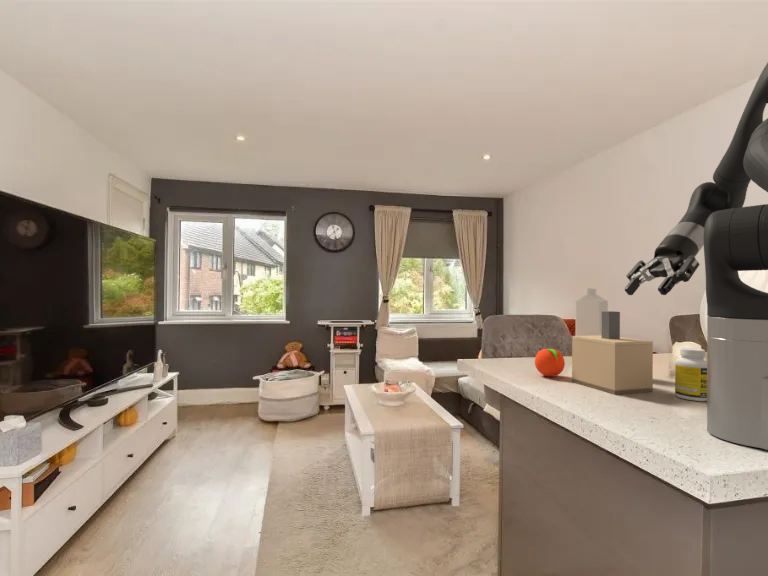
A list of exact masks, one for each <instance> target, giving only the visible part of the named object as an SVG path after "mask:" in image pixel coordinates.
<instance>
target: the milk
mask: <svg viewBox="0 0 768 576" xmlns="http://www.w3.org/2000/svg"><path fill="white" fill-rule="evenodd" d="M586 293H587V294H585V295H583V296H581V297H580V298H578V299H576V300H575V334H574V336H598V335H602V311H608V310H609V309H608V308H609V304H608V303H609V302H608V300H607V299H605V298H604V297H602V296H600V295H598V294H597V289H596V288H587V291H586Z"/></svg>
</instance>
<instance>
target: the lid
mask: <svg viewBox="0 0 768 576" xmlns="http://www.w3.org/2000/svg"><path fill="white" fill-rule="evenodd" d="M620 328H621V312H620V311H613V310H612V311H611V310H610V311H602V335H598V336H575V335H572V339H578V340H584V341H591V342H597V343H604V344H610V345H641V344H654V341H653V340H645V339H639V338H638V339H637V338H631V337H622V336H621V335H620V334H621V329H620Z"/></svg>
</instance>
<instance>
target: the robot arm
mask: <svg viewBox="0 0 768 576" xmlns="http://www.w3.org/2000/svg"><path fill="white" fill-rule="evenodd" d="M767 104H768V62H766V65H765V66H764V68H763V69H762V71H761V73H760V75H759V76H758V79H757V81H756V83H755V85H754V86H753V90H752V91H751V94H750V96H749V97H748V100H747V103H746V104H745V107H744V109H743V112H742V115H741V117H740V119H739V121H738V124H737V127H736V129H735V132H734V135H733V136H732V139H731V141H730V143H729V146H728V148H727V150H726V152H725V153H724V155H723V156H722V158H721V160H720V161H719V162H718V163H719V164H718V165H717V166H716V168H715V170H714V172H713V173H712V180H713V182H712V181H707V182H703V183H701V184H699V185H698V186H697V187H695V189H694V190H693V191H692V194H691V197H690V200H689V203H688V207H687V210H686V212H685V213H684V215H683V216H682V217H681V219H680V220H679V222H678V223H677V224H676V225H675V226H674V227H673V228H672V229H670V231H669V232H668V233H667V235H666V236H665V237H664V238H663V240H661V242H660V243H659V244H658V246H657V247H656V248H655V250H654V256H653V258H651V260H649V261H648V262H645V261H644V260H639V261H638V262H637V263H636V264H635V265H634V266H633V267H632V269H630V271H629V272H628V273H627V274H626V275H625V276H626V278H627V279H628V283H627V285H626V286H625V287H624V291H625V293H626V294H627V295H628V296H633V295H634V293H635V292H636V291H637V290H638V288H640V286H641V285H642V284H644V283H645V282H650V281H652V280H654V279H657V278H664V279H663V281H662V282H661V283H660V284H659V286H658V287H657V291H658V292H659V293H660V295H661V296H667V294H668V293H670V292H671V291H672V289H674V287H675V286H676V285H678V284H680V282H683V283H687V282H689V281H690V279H691V278H692V277H693V275H694V274H695V272H696V271H697V269H698V268H699V266H700V263H699V261H698V260H697V259H696V256H697V255H698V253H700V251H701V249H702V248H703V254H704V270H705V271H704V272H705V273H704V274H705V297H706V305H707V307H706V308H707V313H706V315H707V319H706V320H707V327H706V329H707V331H706V332H707V335H706V339H707V340H706V343H707V344H706V351H707V352H706V362H707V401H706V431H707V433H709V434H710V435H711V436H714V437H716V438H719V439H721V440H725V441H728V442H731V443H734V444H739V445H742V446H748V447H754V448H759V449H763V450H765V451H768V292H766V291H762V290H760V289H756V288H755V287H752V286H750V285H748V284H747V283H745V282H743V281H742V280H741V278H740V275H739V272H741V271H744V272H745V271H746V272H747V271H749V272H750V271H768V203H767V204H766V203H765V204H757V205H756V204H755V205H749V206H744V204H745V201H746V197H747V191H748V187H749V184H750V182H751V181H752V182H753V183H754V184H756V185H757V186H758V187H759V188H761V189H762V190H764V191H765V192H766V193H768V117H767V118H766V119H765V120H764V119H763V118H764V112H765V109H766V106H767ZM647 272H648V273H649V274H650V275H648V273H647ZM642 276H643V277H642ZM641 277H642V278H641Z"/></svg>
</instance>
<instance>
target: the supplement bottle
mask: <svg viewBox="0 0 768 576" xmlns="http://www.w3.org/2000/svg"><path fill="white" fill-rule="evenodd" d="M679 355H680V356H681V357H680V358H677V359H676V361H675V370H674V371H675V373H674V374H675V380H674V381H675V383H674V387H675V388H674V394H675V396H676V397H677V398H680V399H683V400H687V401H688V400H689V401H693V402H707V360H705V357H706V350H705V349H702V348H695V347H694V348H693V347H681V348H679Z"/></svg>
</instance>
